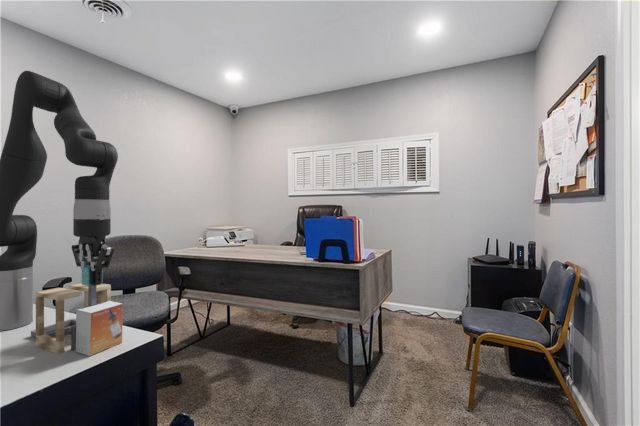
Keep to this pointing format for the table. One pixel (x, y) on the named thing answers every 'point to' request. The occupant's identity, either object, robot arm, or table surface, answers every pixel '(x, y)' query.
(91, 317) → the small box
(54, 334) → the tray
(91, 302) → the slider
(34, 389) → the table surface
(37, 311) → the tunnel
